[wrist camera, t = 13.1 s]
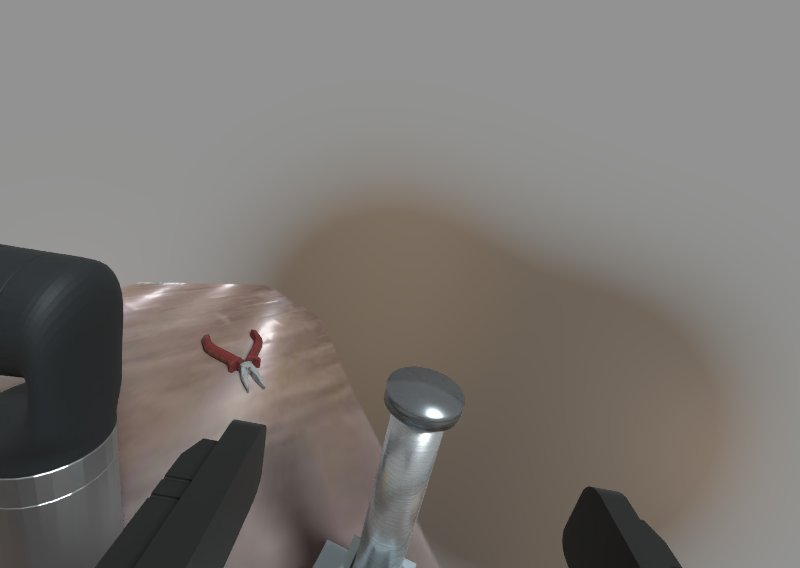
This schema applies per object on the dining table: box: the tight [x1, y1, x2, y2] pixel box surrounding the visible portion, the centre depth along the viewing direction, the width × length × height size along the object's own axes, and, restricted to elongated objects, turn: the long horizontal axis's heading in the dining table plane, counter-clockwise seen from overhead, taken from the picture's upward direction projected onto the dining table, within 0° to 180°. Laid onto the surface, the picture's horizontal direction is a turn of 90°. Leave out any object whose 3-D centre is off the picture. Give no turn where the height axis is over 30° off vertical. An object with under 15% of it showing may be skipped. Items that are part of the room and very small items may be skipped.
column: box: [352, 367, 465, 568], centre depth 30 cm, size 6×6×21 cm
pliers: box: [202, 330, 265, 392], centre depth 74 cm, size 12×20×3 cm, turn 36°
